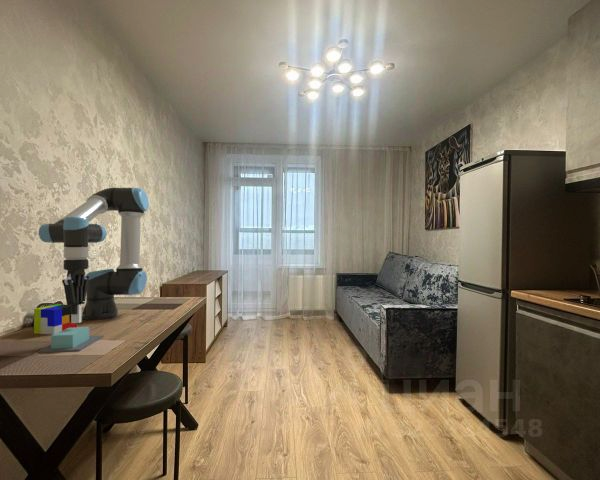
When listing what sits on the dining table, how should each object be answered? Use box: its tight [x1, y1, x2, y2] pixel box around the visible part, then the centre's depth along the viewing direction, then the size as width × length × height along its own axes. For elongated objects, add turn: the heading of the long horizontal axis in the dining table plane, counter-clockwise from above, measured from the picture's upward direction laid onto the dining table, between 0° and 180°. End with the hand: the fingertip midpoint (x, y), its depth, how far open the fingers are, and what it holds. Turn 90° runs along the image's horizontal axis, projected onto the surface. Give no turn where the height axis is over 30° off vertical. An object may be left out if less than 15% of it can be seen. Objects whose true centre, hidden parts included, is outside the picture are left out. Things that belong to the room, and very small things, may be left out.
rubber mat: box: [37, 334, 104, 354], centre depth 115 cm, size 16×13×1 cm
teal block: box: [50, 326, 90, 349], centre depth 114 cm, size 4×7×10 cm
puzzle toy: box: [33, 303, 77, 336], centre depth 133 cm, size 10×10×10 cm
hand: (76, 322), depth 117 cm, fingers closed
